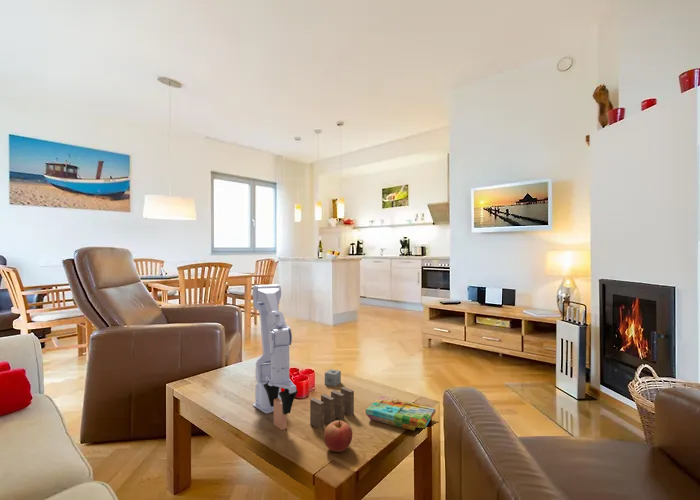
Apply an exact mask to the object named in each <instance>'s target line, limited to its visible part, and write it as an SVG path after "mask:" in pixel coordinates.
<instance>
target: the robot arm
mask: <svg viewBox="0 0 700 500" xmlns="http://www.w3.org/2000/svg"><path fill="white" fill-rule="evenodd" d="M281 297H282V287H281V285H280V284H279V283H275V284H254V285H253V287H252V302H253V303H252V305H253V308H254V309H255V310H257V311H258V314H259V318H260V331H261V345H262V355H261V356H260V357H258V359H256V362H255V380H256V385H255V394H254V395H255V402H254V403H253V404H252V405H253V407H255V408H256V409H259V410H260V411H261V412H263V413H265V414H266V415H267V414H270V413H274V399H277V398H279V399H281V400H282V407H283V413H284V414H285V415H286V414H287V415H288V414H290V413H291V410H292V408H293V403H294V400H295V397H296V396H297V395H298V393H299V391H298V389H297V385H295V384H294V382H293V381H292V380H291V379H290V346H292V341H293V334H292V330H291V327H290V326H289V325H287V323H286V320H285V317H284V314H283V312H281V311H280V310H279V304H280V301H281V299H282V298H281ZM282 389H284V390H283V391H282Z"/></svg>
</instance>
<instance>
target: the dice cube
mask: <svg viewBox="0 0 700 500" xmlns="http://www.w3.org/2000/svg"><path fill="white" fill-rule="evenodd" d="M341 372H342V371H341V370H337V369H333V368H332V369H331V368H329V369H328V370H326V371H325V372H324V385H326V386H331V387H337V386H338V385H340V384H341V382H342V380H341V379H342V373H341Z"/></svg>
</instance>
